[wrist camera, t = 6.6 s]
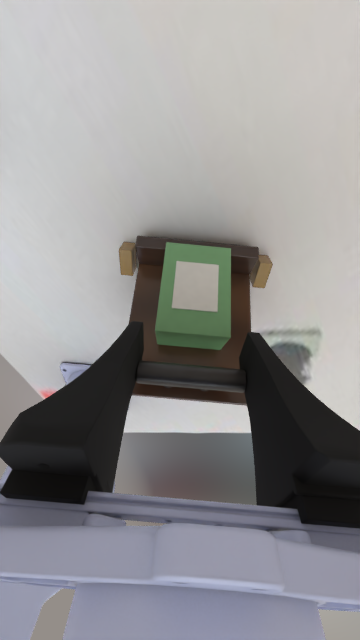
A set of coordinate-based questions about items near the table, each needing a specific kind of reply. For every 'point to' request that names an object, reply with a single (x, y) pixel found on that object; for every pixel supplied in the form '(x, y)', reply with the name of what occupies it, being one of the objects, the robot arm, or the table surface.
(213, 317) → the packet
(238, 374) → the stand
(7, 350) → the table surface
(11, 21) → the table surface
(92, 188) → the table surface
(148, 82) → the table surface
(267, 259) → the hinge cheeks
